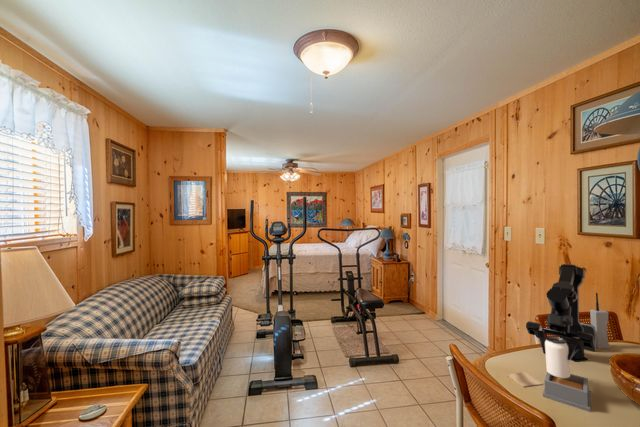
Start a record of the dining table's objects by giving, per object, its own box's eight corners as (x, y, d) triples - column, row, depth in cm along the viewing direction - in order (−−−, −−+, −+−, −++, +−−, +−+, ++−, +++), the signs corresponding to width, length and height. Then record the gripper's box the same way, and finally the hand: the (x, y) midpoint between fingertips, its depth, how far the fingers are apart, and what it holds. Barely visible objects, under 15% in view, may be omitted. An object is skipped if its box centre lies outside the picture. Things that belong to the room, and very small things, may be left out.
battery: (597, 349, 130) (595, 324, 130) (595, 352, 128) (594, 326, 128) (577, 344, 136) (575, 320, 136) (575, 347, 133) (573, 322, 133)
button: (553, 382, 105) (553, 376, 105) (583, 391, 99) (582, 384, 99) (550, 392, 99) (550, 386, 99) (581, 402, 94) (581, 395, 94)
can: (542, 369, 105) (540, 336, 105) (561, 368, 104) (558, 335, 104) (555, 379, 98) (552, 344, 98) (575, 379, 98) (573, 343, 98)
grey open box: (547, 381, 108) (546, 366, 108) (591, 394, 99) (590, 378, 99) (542, 396, 99) (542, 380, 99) (590, 412, 91) (589, 394, 91)
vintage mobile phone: (610, 348, 130) (607, 294, 131) (597, 348, 131) (594, 293, 132) (604, 345, 134) (601, 291, 134) (591, 344, 135) (589, 291, 135)
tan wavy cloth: (524, 373, 114) (524, 372, 114) (542, 384, 106) (542, 383, 106) (506, 375, 113) (506, 374, 113) (523, 387, 105) (523, 386, 105)
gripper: (525, 300, 111) (519, 337, 103) (591, 310, 97) (589, 354, 89) (532, 315, 116) (526, 351, 109) (595, 326, 102) (593, 370, 95)
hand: (556, 356), depth 100 cm, fingers closed on can, 6 cm apart
